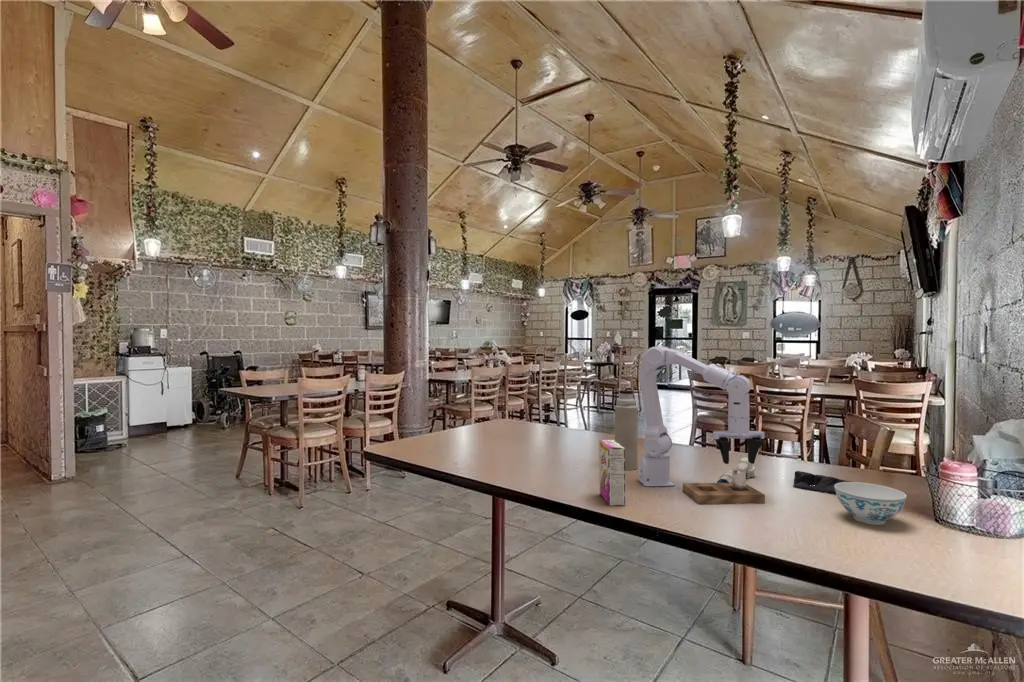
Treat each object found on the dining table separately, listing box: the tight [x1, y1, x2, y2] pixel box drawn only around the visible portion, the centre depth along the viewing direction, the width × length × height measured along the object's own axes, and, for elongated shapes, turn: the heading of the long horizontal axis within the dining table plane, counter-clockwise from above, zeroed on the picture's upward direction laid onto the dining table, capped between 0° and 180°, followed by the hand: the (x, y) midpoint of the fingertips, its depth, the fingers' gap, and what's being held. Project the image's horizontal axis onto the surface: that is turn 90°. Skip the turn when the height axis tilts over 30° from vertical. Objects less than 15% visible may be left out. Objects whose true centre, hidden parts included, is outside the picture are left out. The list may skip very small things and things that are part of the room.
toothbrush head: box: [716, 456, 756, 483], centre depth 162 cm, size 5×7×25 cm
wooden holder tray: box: [681, 482, 766, 505], centre depth 146 cm, size 19×12×2 cm, turn 92°
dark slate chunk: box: [792, 470, 852, 495], centre depth 154 cm, size 15×22×5 cm
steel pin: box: [731, 467, 747, 491], centre depth 147 cm, size 4×4×8 cm
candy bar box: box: [598, 439, 626, 507], centre depth 144 cm, size 11×5×16 cm, turn 4°
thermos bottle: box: [614, 389, 638, 471], centre depth 181 cm, size 8×8×28 cm
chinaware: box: [834, 481, 907, 526], centre depth 128 cm, size 15×15×8 cm
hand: (738, 463), depth 147 cm, fingers open, 7 cm apart
